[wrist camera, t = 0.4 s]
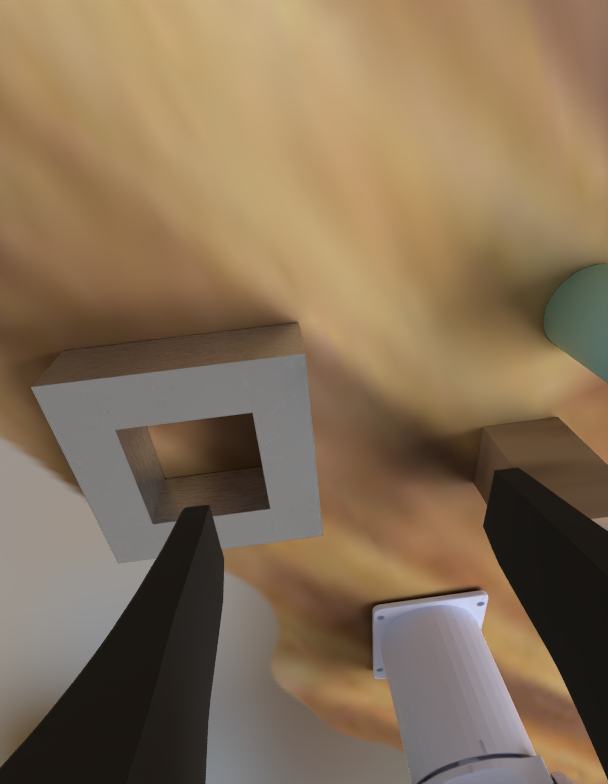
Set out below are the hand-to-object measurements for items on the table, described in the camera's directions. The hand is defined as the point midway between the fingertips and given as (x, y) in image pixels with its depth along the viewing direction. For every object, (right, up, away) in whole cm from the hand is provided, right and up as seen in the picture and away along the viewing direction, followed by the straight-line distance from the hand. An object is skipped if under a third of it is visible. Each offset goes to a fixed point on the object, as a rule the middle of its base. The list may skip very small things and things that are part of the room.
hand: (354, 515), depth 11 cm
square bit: (+10, 0, +13) cm, 16 cm away
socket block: (-6, +1, +10) cm, 12 cm away
